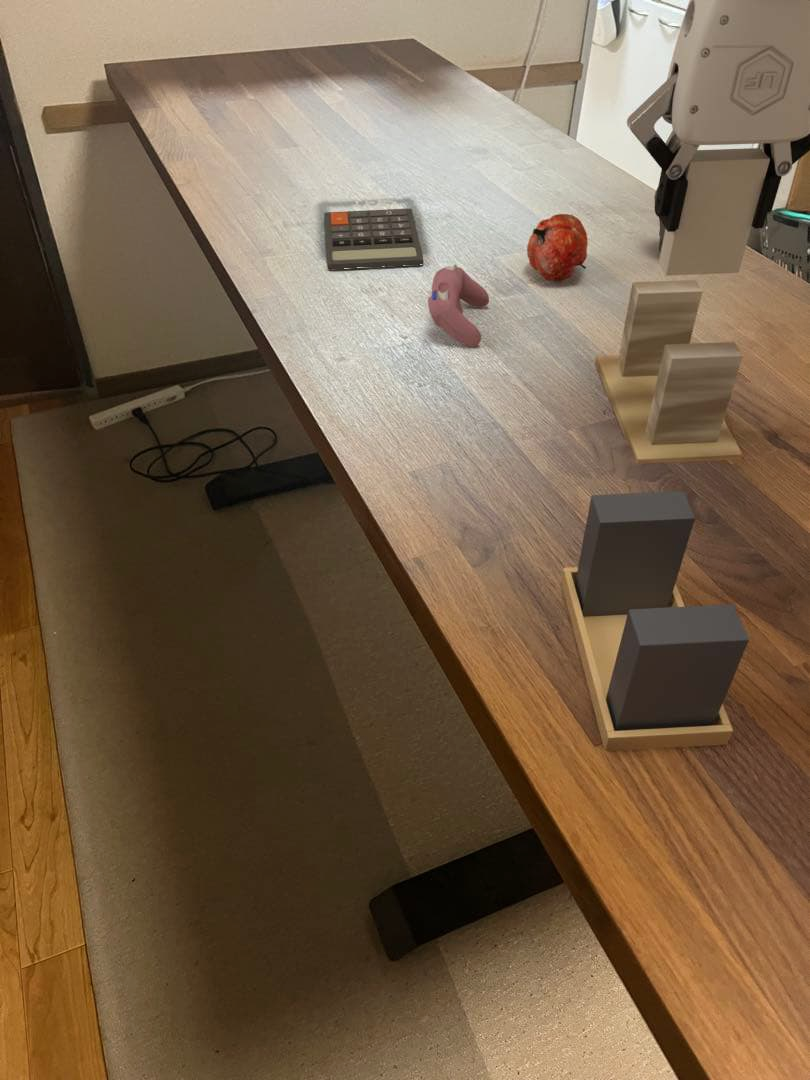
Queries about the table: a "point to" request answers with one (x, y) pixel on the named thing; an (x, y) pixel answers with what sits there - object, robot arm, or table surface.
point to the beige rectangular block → (715, 212)
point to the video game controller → (456, 303)
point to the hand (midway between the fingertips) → (709, 220)
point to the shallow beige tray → (598, 659)
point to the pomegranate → (558, 247)
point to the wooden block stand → (670, 379)
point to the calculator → (371, 239)
